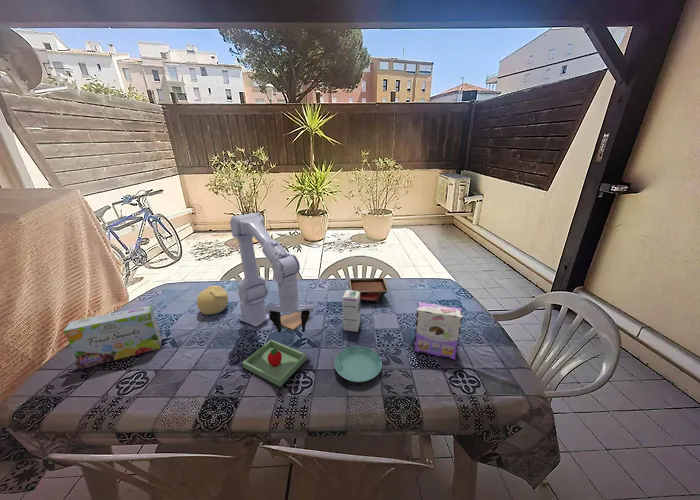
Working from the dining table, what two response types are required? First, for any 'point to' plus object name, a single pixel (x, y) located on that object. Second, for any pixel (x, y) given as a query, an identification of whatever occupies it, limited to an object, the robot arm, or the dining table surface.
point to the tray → (279, 373)
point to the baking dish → (369, 288)
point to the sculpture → (212, 300)
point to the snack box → (113, 336)
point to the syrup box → (351, 310)
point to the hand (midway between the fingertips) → (291, 330)
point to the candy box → (437, 330)
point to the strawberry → (274, 357)
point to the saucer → (358, 364)
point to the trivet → (291, 320)
